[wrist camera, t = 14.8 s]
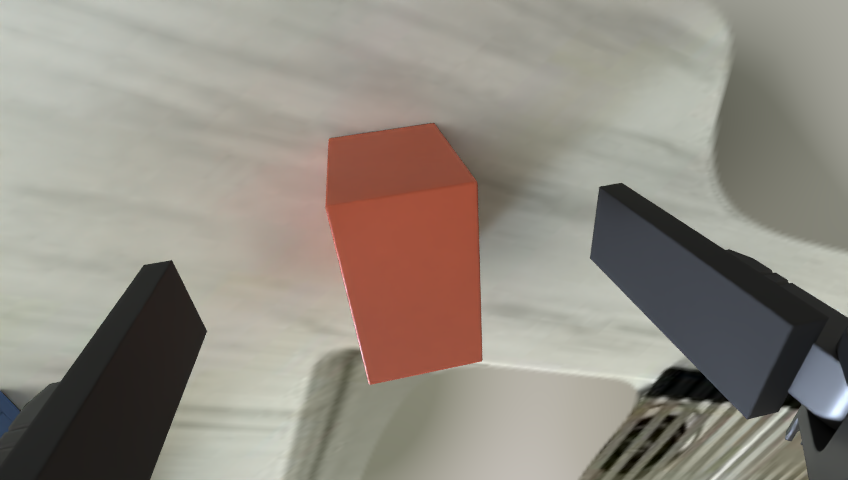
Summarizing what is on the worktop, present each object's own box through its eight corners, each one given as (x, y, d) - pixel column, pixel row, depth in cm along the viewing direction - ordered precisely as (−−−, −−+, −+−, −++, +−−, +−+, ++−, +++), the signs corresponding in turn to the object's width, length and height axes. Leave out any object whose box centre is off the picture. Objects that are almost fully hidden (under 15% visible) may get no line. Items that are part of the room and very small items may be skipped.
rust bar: (328, 137, 13) (324, 206, 9) (434, 122, 14) (478, 181, 10) (360, 285, 17) (369, 385, 12) (446, 269, 17) (482, 361, 13)
